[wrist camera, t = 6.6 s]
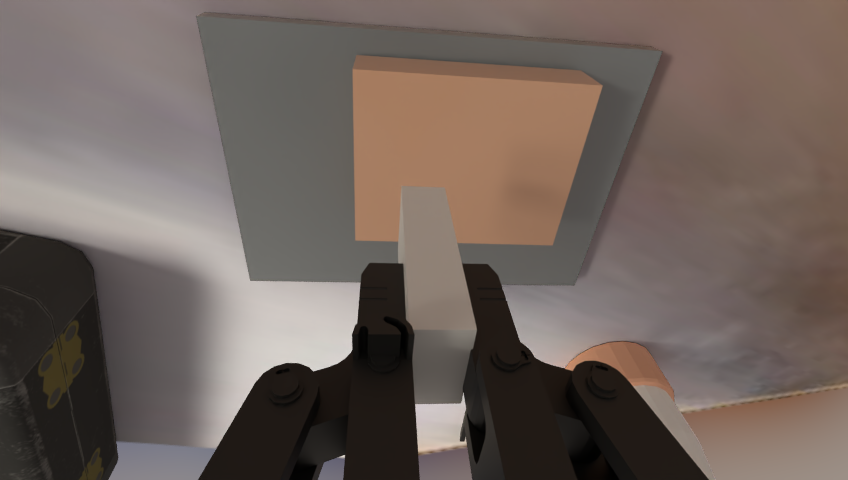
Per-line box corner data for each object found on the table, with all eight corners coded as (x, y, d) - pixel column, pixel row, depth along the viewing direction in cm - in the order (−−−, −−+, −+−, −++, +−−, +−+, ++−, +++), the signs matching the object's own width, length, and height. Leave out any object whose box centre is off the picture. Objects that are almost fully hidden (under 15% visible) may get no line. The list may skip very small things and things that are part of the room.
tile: (355, 240, 21) (552, 245, 22) (352, 68, 16) (602, 85, 17) (358, 211, 23) (537, 217, 24) (356, 53, 18) (578, 69, 19)
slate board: (254, 269, 26) (250, 280, 25) (204, 12, 18) (196, 15, 17) (568, 275, 28) (574, 285, 27) (651, 46, 20) (662, 51, 19)
